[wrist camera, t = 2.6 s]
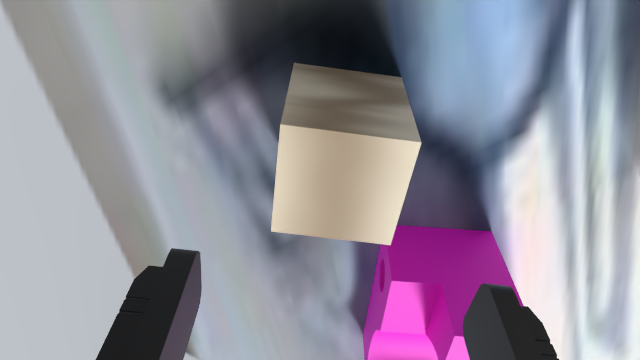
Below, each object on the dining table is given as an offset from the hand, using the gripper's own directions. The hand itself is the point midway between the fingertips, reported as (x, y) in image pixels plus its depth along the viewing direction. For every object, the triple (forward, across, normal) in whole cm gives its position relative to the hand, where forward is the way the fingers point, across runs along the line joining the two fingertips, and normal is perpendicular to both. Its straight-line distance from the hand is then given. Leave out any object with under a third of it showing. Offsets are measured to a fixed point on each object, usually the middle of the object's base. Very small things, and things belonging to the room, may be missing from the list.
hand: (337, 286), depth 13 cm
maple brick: (+11, 0, 0) cm, 11 cm away
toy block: (+11, -8, +14) cm, 19 cm away
